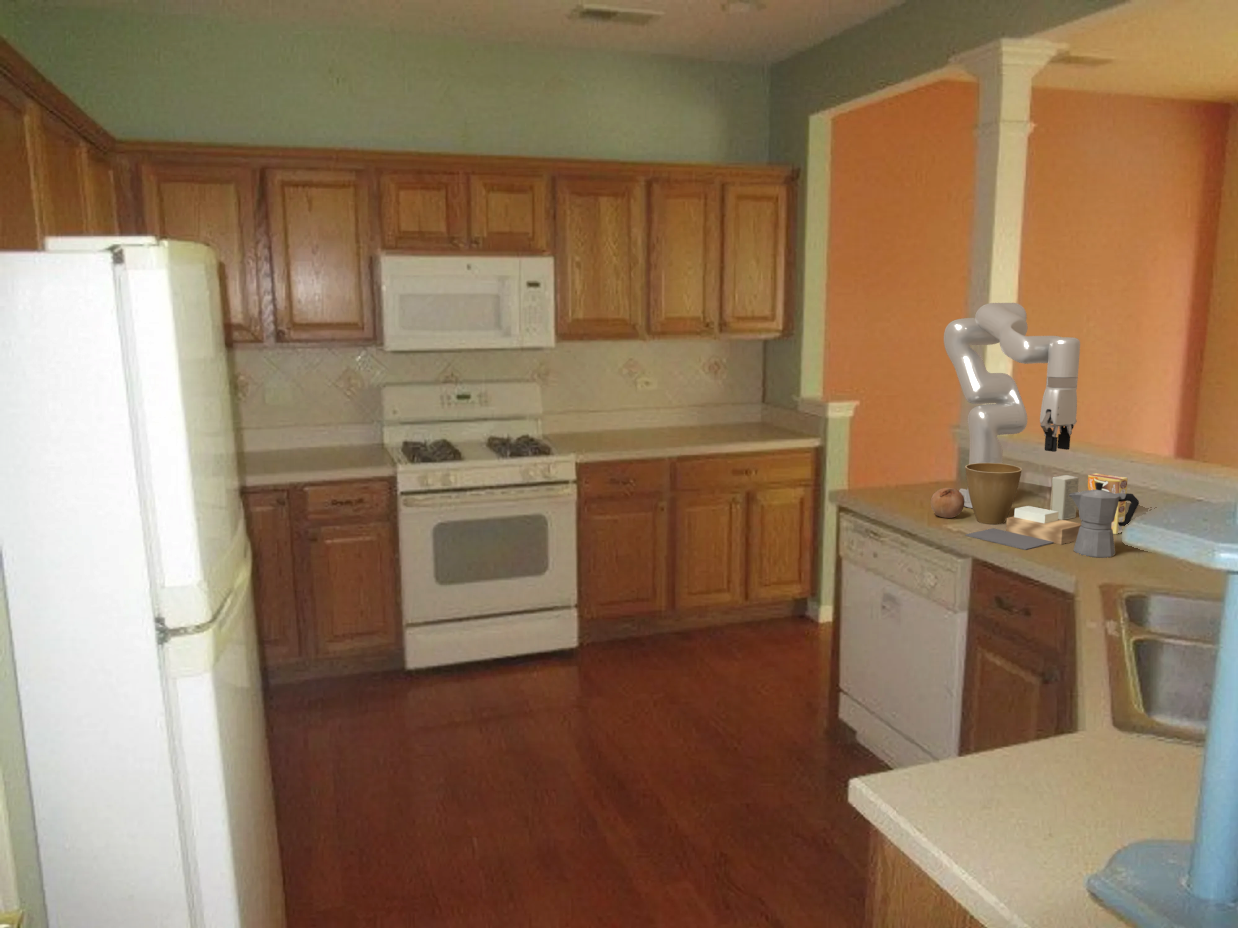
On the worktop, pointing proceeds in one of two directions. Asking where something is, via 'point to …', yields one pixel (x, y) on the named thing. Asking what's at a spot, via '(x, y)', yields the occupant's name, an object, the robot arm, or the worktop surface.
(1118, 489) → the candy box
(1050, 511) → the white rectangular block
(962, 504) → the onion
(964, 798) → the worktop surface
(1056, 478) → the skincare box
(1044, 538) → the wooden block
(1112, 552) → the coffeepot
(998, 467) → the plant pot
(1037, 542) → the mat
